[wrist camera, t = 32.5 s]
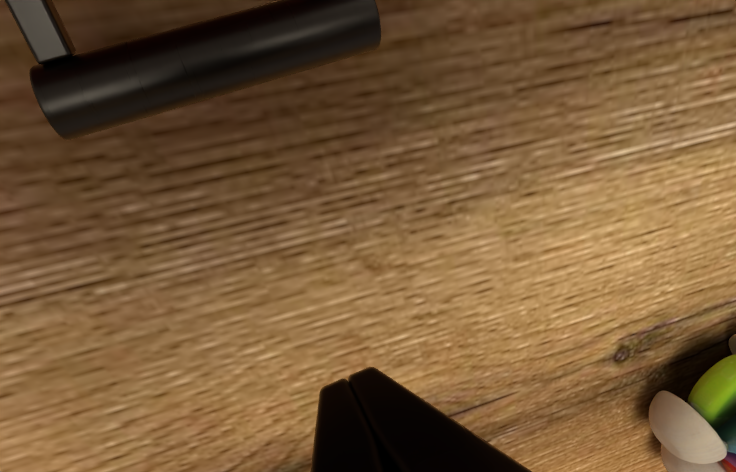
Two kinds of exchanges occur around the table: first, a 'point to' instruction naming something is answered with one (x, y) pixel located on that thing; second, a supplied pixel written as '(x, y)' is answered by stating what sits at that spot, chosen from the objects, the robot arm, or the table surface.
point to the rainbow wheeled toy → (699, 422)
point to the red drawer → (184, 59)
